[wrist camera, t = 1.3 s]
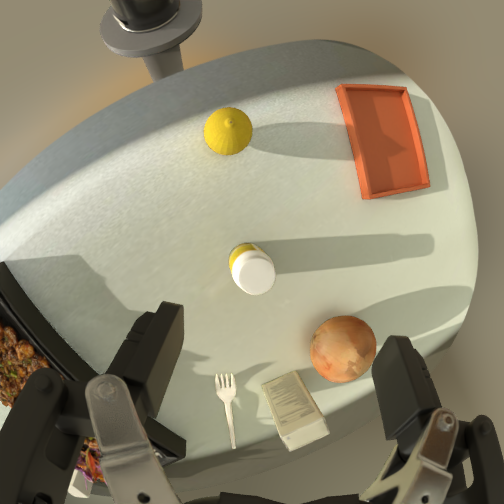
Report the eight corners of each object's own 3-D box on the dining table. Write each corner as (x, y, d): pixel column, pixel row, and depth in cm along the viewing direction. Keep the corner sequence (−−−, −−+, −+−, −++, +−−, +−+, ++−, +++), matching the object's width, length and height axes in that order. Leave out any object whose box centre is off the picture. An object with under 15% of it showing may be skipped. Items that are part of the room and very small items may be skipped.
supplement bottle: (223, 270, 36) (226, 290, 28) (235, 236, 36) (243, 247, 27) (256, 282, 37) (269, 304, 29) (269, 249, 37) (286, 263, 28)
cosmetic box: (269, 401, 41) (287, 453, 29) (260, 384, 40) (277, 438, 28) (304, 386, 42) (331, 434, 30) (297, 368, 41) (324, 417, 29)
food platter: (186, 440, 41) (185, 482, 31) (117, 473, 41) (110, 505, 31) (3, 261, 30) (-36, 276, 20) (-30, 334, 30) (-56, 354, 20)
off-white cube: (64, 469, 39) (58, 484, 33) (78, 469, 39) (72, 485, 34) (79, 481, 40) (74, 496, 34) (93, 482, 41) (88, 497, 35)
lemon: (213, 165, 34) (213, 155, 26) (198, 127, 32) (196, 107, 25) (253, 151, 34) (265, 138, 26) (239, 114, 33) (247, 91, 25)
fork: (225, 447, 42) (226, 453, 40) (212, 367, 38) (213, 374, 37) (242, 445, 43) (243, 452, 41) (234, 366, 39) (235, 373, 37)
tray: (335, 88, 34) (340, 83, 32) (399, 90, 35) (406, 87, 33) (362, 199, 37) (369, 199, 35) (422, 187, 39) (430, 187, 37)
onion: (347, 361, 42) (375, 394, 32) (293, 359, 40) (314, 398, 31) (365, 308, 41) (401, 334, 31) (310, 302, 39) (339, 332, 29)
